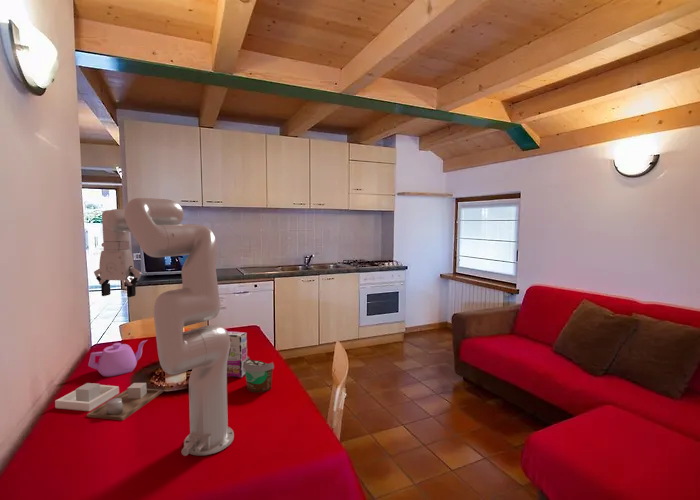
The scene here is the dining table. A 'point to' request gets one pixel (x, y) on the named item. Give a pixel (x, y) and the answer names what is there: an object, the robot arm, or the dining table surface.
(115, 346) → the teapot
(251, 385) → the food container
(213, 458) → the dining table surface
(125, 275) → the robot arm
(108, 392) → the dish
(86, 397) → the stone cube
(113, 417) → the walnut tray
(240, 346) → the candy bar box
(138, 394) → the white cube
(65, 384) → the dining table surface
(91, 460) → the dining table surface
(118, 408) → the pebble round
